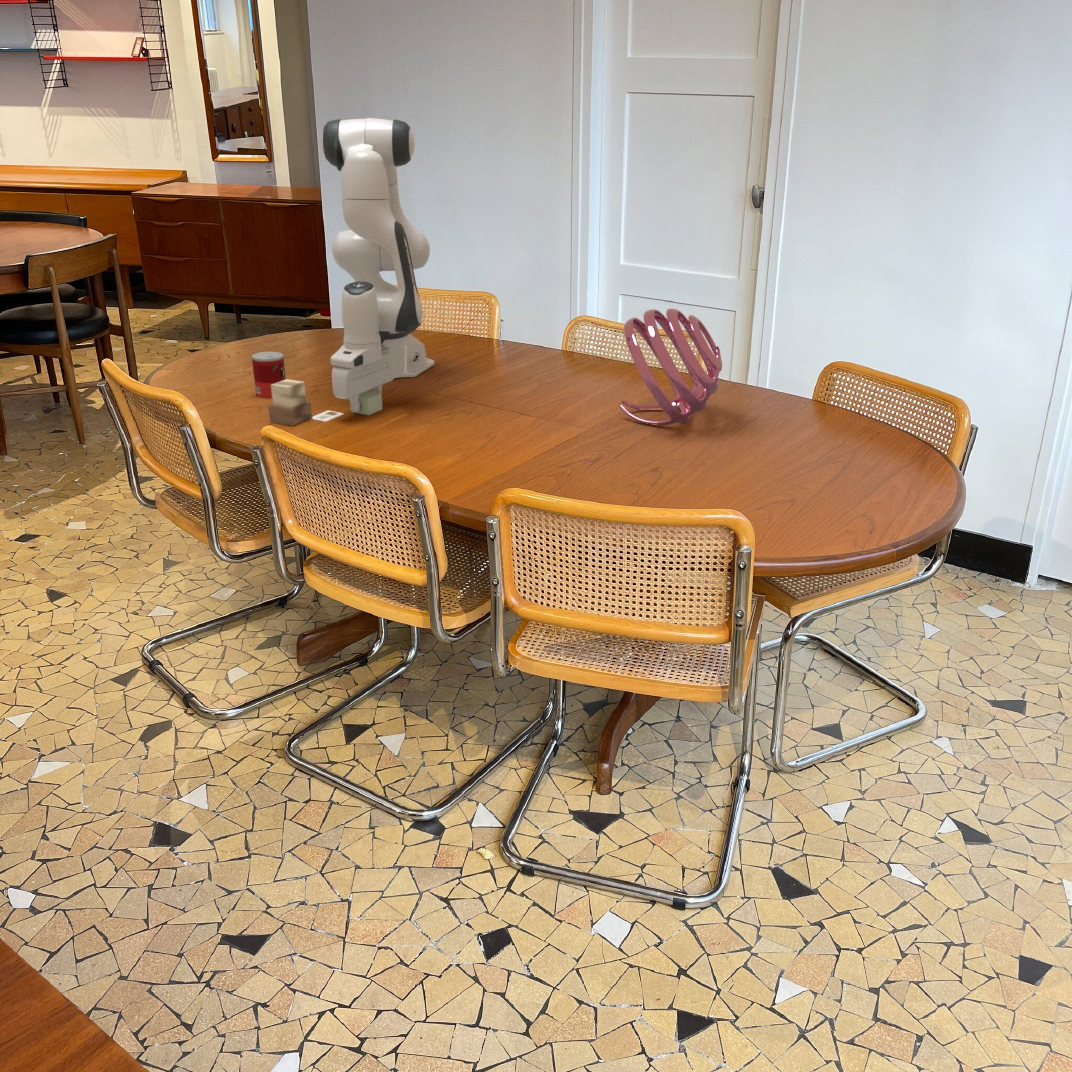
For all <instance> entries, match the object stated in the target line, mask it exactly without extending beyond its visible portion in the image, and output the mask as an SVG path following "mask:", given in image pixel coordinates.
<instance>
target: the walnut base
mask: <svg viewBox="0 0 1072 1072" xmlns="http://www.w3.org/2000/svg"><path fill="white" fill-rule="evenodd" d="M306 401H307V402H306V403H303V404H301V405H298V406H295V407H293V408H287V407H281V406H275V405H273V403H272V404H269V405H267V408H268V415H269V422H270V423H276V424H281V425H284V426H285V425H287V426H292V427H293V426H297V425H298V424H302V422H306V421H308V420H311V419H310V418H312V417H313V411H312V404H311V403H312V402H311V401H308V400H306Z"/></svg>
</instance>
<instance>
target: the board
mask: <svg viewBox="0 0 1072 1072" xmlns="http://www.w3.org/2000/svg"><path fill="white" fill-rule="evenodd" d="M344 415H345V413H343V412H338V411H333V410H330V409H329V410H325V411H322V412H320V413H318V414H315V415H312V418H310V419H309V420H315V421H319V422H325V423H326V422H329V421H331V420H333V419H336V418H338V417H341V416H344Z"/></svg>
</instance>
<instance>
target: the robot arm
mask: <svg viewBox="0 0 1072 1072" xmlns="http://www.w3.org/2000/svg"><path fill="white" fill-rule="evenodd" d="M320 144H321V145H320V146H321V150H322V153H323V154H324V158H325V160H326V161H327V162H328V163H329V164H330V165H332V166H333V167H335V168H336V169H337V170H338V172H341V171H342V176H341V178H342V179H341V199H342V200H341V203H342V204H341V205H342V214H343V219H344V222H345V223H346V225H347V227H348V228H349V229H347V230H342V231H339V232H338V233H337V234H336V235H335V237H334V239H333V243H332V247H331V248H332V249H331V250H332V251H331V252H332V253H331V254H332V257H333V260H334V262H335V263H336V264H337V266H338V267H340V268H341V269H342V270H343V271H345V272H346V273H347V274H348V275H349V276H350V277H351V278H352V279H353V280H354V281H353V282H349V283H348V284H346V285H344V286H343V288H342V295H341V323H342V326H343V329H344V330H343V331H344V332H343V333H344V335H343V345H341V347H340V348H339V349H337V351H336V352H335V353H333V355H331V357H330V364H331V366H333V368H332V370H331V387H332V393H333V396H335V397H336V398H337V399H342V400H349V402H350V401H351V403H352V404H353V411H355V412H359V411H361V410H362V404H361V403H359V401H358V398H359V394H361V393H363V392H366V391H370V390H372V392H377V393H381V394H382V390H383V385H386V384H388V383H390V382H393V381H394V379H398V378H415V377H417V376H418V375H420V374H423V372H425V371H427V370H428V369H429V368H431V367H433V366H434V365H435V360H433V359H431V358H428V357H427V351H426V347H425V344H424V343H423V342H422V341H420V340H419V339H418V338H417V337H415V336H414V335H412V333H413V332H414V331H416V330H417V329H418V328H420V326H421V325H422V324H423V323H422V322H423V318H424V312H423V305H422V302H421V299H420V294H419V291H418V287H417V282H416V277H415V271H414V270H417V269H422V268H424V266H425V265H426V264H427V263H428V261H429V257H430V256H431V255H430V253H431V248H430V247H431V246H430V242H429V240H428V238H427V236H426V235H425V234H424V233H423V232H422V231H421V230H419V229H418V228H417V227H415V226H414V225H412V223H411V221H409V220H408V219H407V217H406V215H405V214H404V211H403V210H402V207H401V205H402V204H401V202H400V194H399V185H398V172H397V168H398V167H401V166H406V165H407V164H409V162H411V160H412V157H413V154H414V152H415V138H414V134H413V132H412V129H411V126H410V125H409V124H408V123H407V122H406V121H403V120H399V119H393V120H390V119H384V118H377V117H376V118H375V117H374V118H373V117H366V118H352V119H350V118H349V119H343V120H342V119H340V118H339V119H333V120H329V121H327V122H326V123H325V124H324V125H323V129H322V134H321V138H320ZM380 272H394V273H395V278H396V283H397V286H396V285H394V284H392V283H390V282H387V281H386V280H384V279H383V277H382V276H381V273H380Z"/></svg>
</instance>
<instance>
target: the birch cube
mask: <svg viewBox="0 0 1072 1072" xmlns="http://www.w3.org/2000/svg"><path fill="white" fill-rule="evenodd" d="M271 391H272V398H271V399H272V404H273V405H275V406H281V407H287V408H293V407H295V406H298V405H301V404H303V403H306V402H307V401H308V400H307V394H306V385H305V381H302V380H294V379H287V378H286V380H283V381H280V382H277V383H274V384H271Z"/></svg>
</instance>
